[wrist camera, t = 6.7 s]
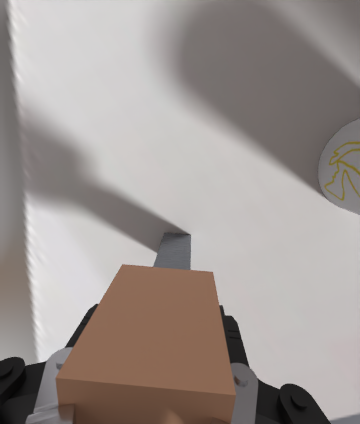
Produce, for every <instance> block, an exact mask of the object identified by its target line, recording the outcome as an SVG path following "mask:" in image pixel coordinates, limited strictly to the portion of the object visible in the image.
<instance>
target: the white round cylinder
mask: <svg viewBox="0 0 360 424" xmlns="http://www.w3.org/2000/svg"><path fill="white" fill-rule="evenodd" d="M318 181H319V185H320V188H321V190H322V192H323V194H324V195H325V196H326V198H327V199H328V200H329V201H330V202H332V203H333V204H334V205H336V206H338V207H340V208H343V209H345V210H348V211H351V212H353V213H356V214H358V215H360V118H359V119H357V120H354V121H352V122H350V123H348V124H347V125H345V126H344V127H343V128H341V129H340V130H339V131H338V132H337V133H336V134H334V136H333V137H332V138H331V139H330V140H329V142H328V143H327V145H326V146H325V148H324V150H323V152H322V154H321V157H320V160H319V165H318Z"/></svg>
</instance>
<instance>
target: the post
mask: <svg viewBox="0 0 360 424" xmlns="http://www.w3.org/2000/svg"><path fill="white" fill-rule="evenodd" d="M190 258H191V235H185V234H173V233H164V236H163V239H162V242H161V245H160V248H159V251H158V254H157V257H156V260H155V263H154V266H153V267H159V268H171V269H183V270H190Z"/></svg>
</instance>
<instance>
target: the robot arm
mask: <svg viewBox="0 0 360 424" xmlns="http://www.w3.org/2000/svg"><path fill="white" fill-rule="evenodd" d="M98 305H99V304H95V305H94V306H93V307H92V308H90V309H89V310H88V312H87V313H86V315H85V316H84V319H83V320H82V321H81V323H80V325H79V326H78V328H77V329H76V331H75V332H74V334H73V335H72V337H71V339H70V340H69V342H68V343H67V345H66V346H65V348H63V349H61V350H58V351H57V352H55V353H54V354H53V355H51V357H50V358H49V359H48V360H47V361H45V362H42V363H37V364H32V365H27V366H25V362H24V360H23V359H22V358H19V357H11V358H7V359H4V360H2V361H0V424H76V412H75V403H74V404H66V405H62V406H58V397H57V388H56V379H55V378H56V376H57V374H58V372H59V371H60V369H61V367H62V366H63V364H64V362H65V361H66V359H67V357H68V356H69V354H70V352H71V350H72V349H73V347H74V345H75V344H76V342H77V340H78V339H79V337H80V335H81V334H82V332H83V330H84V328H85V327H86V325H87V323H88V322H89V320H90V318H91V317H92V315H93V313H94V312H95V310H96V308H97V306H98ZM219 307H220V312H221V318H222V323H223V328H224V334H225V339H226V344H227V349H228V355H229V360H230V365H231V371H232V376H233V381H234V386H235V392H236V399H235V404H234V409H233V415H232V420H231V424H331V423H330V422H329V420H328V419H327V417H326V416H325V415H324V413H323V412H322V410H321V409H320V407H319V406H318V404H317V403H316V402H315V400H314V399H313V397H312V396H311V395H310V394H309V393H308V392H307V391H306V390H304V389H303V388H301V387H300V386H297V385H295V384H285V385H283V386H282V387H281V388H280V389H277V388H275V387H272V386H270V385H268V384H265V383H264V382H262V381H260V380H259V379H258V378H257V376H256V374H255V373H254V372H253V371H252V369H250V367H249V364H248V360H247V357H246V353H245V349H244V346H243V342H242V340H241V335H240V331H239V327H238V324H237V322H236V321H235V320H234V318H233V317H232V316H226V315H225V314H224V309H223V306H222V305H219ZM211 424H229V423H227V422H225V421H223V420H221V419H218V418H214V417H212V420H211Z"/></svg>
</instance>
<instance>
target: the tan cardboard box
mask: <svg viewBox="0 0 360 424" xmlns="http://www.w3.org/2000/svg"><path fill="white" fill-rule="evenodd" d="M55 379H56V388H57V397H58V406H62V405H66V404H74V403H75V412H76V424H211V420H212V417H214V418H218V419H221V420H223V421H225V422H227V423H229V424H231V420H232V415H233V409H234V404H235V399H236V392H235V386H234V381H233V376H232V371H231V365H230V360H229V355H228V349H227V344H226V339H225V334H224V328H223V323H222V318H221V312H220V307H219V302H218V296H217V291H216V286H215V281H214V275H213V272H207V271H195V270H183V269H171V268H159V267H147V266H135V265H123V264H122V266H121V268H120V269H119V271H118V273H117V274H116V276H115V278H114V279H113V281H112V283H111V284H110V286H109V288H108V290H107V291H106V293H105V295H104V296H103V298H102V300H101V301H100V303H99V305H98V306H97V308H96V310H95V312H94V313H93V315H92V317H91V318H90V320H89V322H88V323H87V325H86V327H85V328H84V330H83V332H82V334H81V335H80V337H79V339H78V340H77V342H76V344H75V345H74V347H73V349H72V350H71V352H70V354H69V356H68V357H67V359H66V361H65V362H64V364H63V366H62V367H61V369H60V371H59V372H58V374H57V376H56V378H55Z"/></svg>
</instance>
